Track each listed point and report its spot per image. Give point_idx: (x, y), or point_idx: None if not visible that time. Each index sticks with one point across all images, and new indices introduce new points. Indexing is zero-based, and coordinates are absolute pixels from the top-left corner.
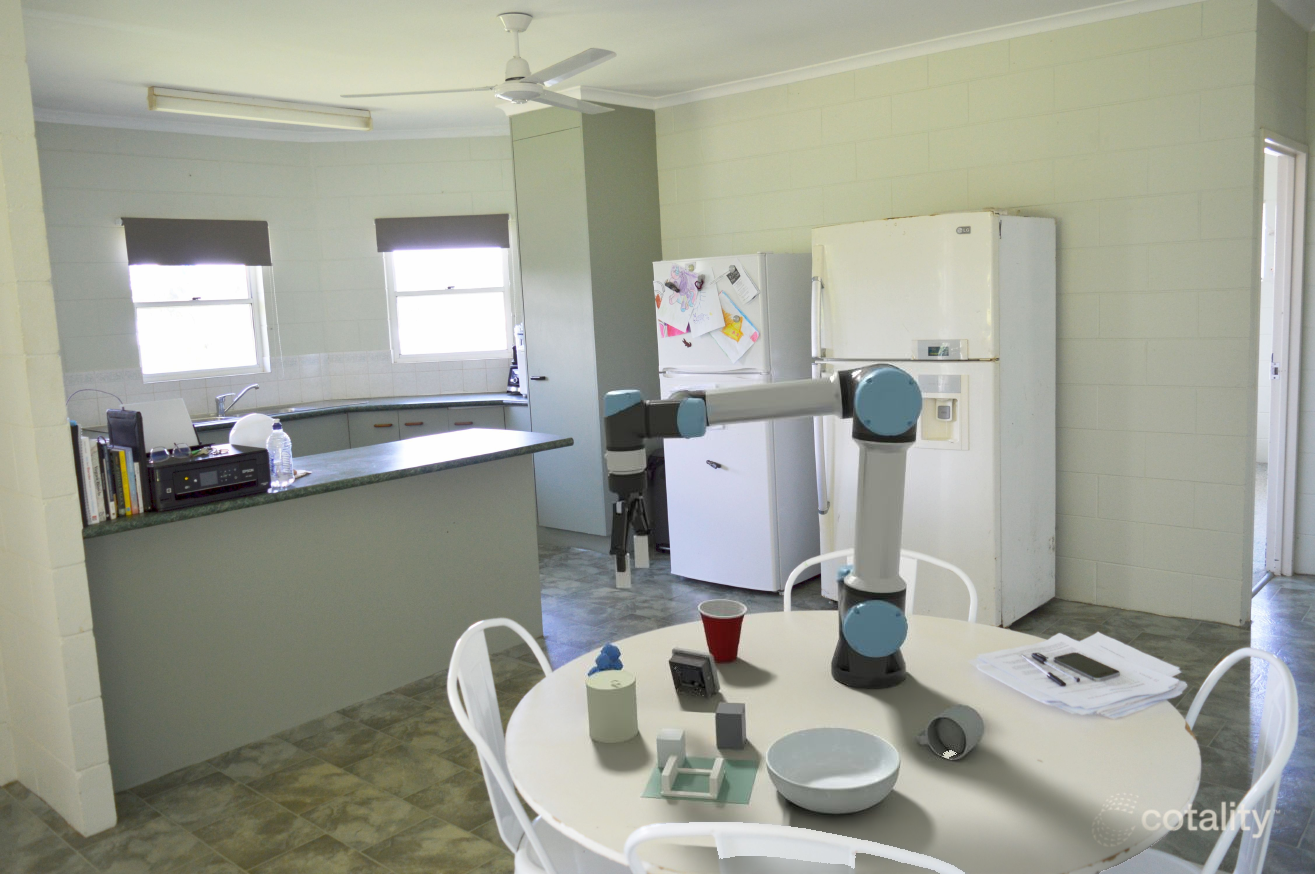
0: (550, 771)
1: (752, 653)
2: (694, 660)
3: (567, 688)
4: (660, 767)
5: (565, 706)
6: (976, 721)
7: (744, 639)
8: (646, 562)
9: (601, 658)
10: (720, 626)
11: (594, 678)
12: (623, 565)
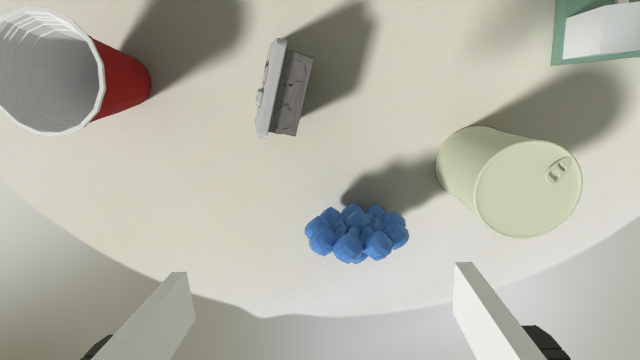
0: (580, 215)
1: (88, 32)
2: (293, 79)
3: (312, 286)
4: None
5: (373, 267)
6: None
7: None
8: (177, 291)
9: (388, 249)
10: (111, 68)
11: (520, 224)
12: (567, 357)
